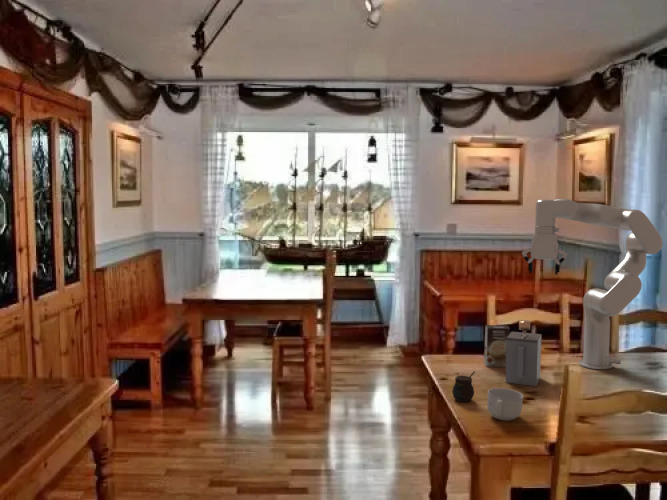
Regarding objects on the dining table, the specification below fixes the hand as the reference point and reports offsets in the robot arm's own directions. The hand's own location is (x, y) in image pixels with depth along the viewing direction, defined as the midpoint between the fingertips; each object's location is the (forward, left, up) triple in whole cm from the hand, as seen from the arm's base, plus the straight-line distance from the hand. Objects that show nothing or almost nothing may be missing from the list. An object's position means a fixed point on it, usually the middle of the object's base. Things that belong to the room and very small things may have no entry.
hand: (543, 273), depth 249 cm
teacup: (+4, +65, -39) cm, 76 cm away
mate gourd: (+19, +53, -39) cm, 68 cm away
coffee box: (+17, +4, -38) cm, 42 cm away
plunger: (+4, +21, -33) cm, 39 cm away
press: (+4, +23, -38) cm, 45 cm away
